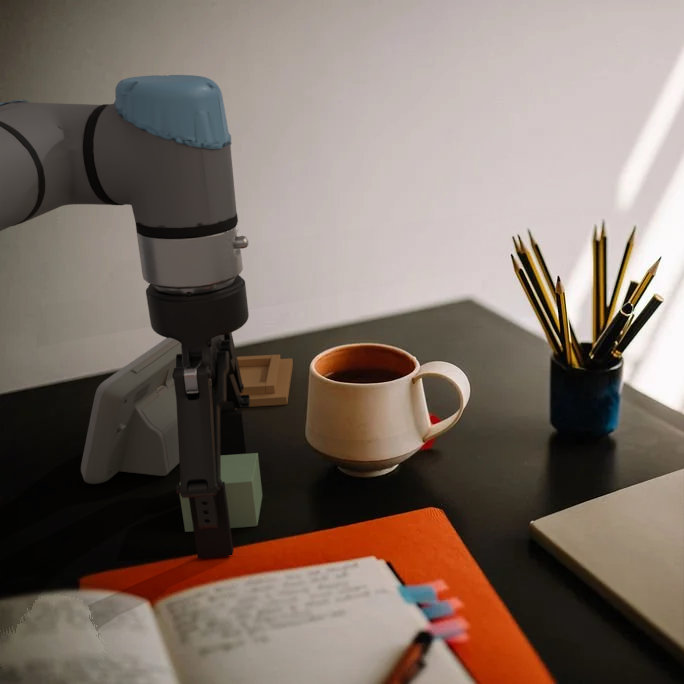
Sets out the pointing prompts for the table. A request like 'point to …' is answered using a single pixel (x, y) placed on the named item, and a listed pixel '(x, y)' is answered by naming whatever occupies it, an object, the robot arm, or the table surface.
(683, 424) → the table surface
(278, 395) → the socket pad
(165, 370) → the digital clock
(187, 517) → the green block
